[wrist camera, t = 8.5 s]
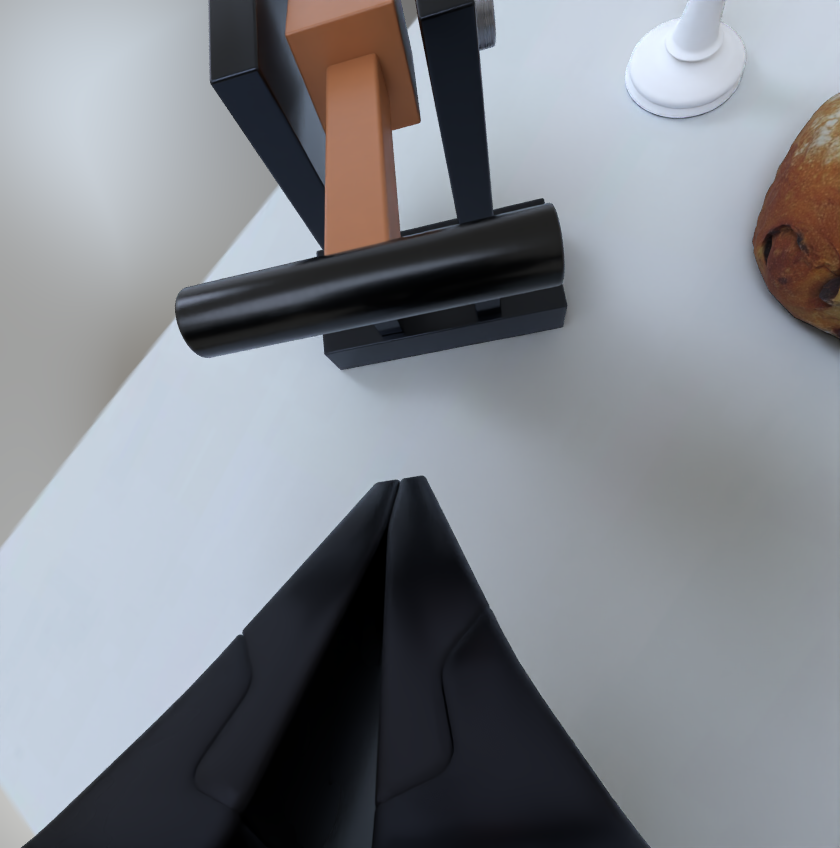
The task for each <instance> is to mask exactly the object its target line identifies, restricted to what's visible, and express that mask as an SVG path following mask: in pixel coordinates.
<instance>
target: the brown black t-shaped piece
mask: <svg viewBox="0 0 840 848" xmlns="http://www.w3.org/2000/svg"><path fill="white" fill-rule="evenodd" d="M285 37H286V39H287V42H288V44H289V47H290V49H291V52H292V54H293V57H294V59H295V61H296V64H297V66H298V69H299V71H300V74H301V76H302V78H303V81H304V83H305V86H306V88H307V91H308V93H309V96H310V98H311V100H312V103H313V105H314V108H315V110H316V113H317V115H318V118H319V120H320V122H321V125H322V127H323V130H324V132H325V135H326V153H325V242H324V255H323V256H319V257H314V258H310V259H306V260H301V261H297V262H293V263H289V264H284V265H280V266H276V267H271V268H267V269H263V270H259V271H254V272H250V273H246V274H241V275H237V276H233V277H228V278H224V279H220V280H216V281H211V282H207V283H203V284H198V285H195V286H190V287H186V288H184V289H182V290H181V291H180V292H179V294H178V296H177V298H176V303H175V314H176V320H177V324H178V327H179V330H180V332H181V334H182V336H183V338H184V340H185V342H186V343H187V345H188V346H189V347H190V348H191V350H192V351H193V352H195V353H196V354H197V355H199V356H201V357H205V358H211V357H216V356H221V355H226V354H231V353H236V352H240V351H245V350H250V349H255V348H260V347H265V346H270V345H274V344H279V343H284V342H289V341H294V340H299V339H303V338H308V337H313V336H318V335H323V334H328V333H333V332H337V331H342V330H347V329H352V328H357V327H362V326H367V325H371V324H376V323H381V322H386V321H391V320H396V319H401V318H405V317H410V316H415V315H420V314H425V313H430V312H434V311H439V310H444V309H449V308H454V307H459V306H464V305H468V304H473V303H478V302H483V301H488V300H493V299H498V298H502V297H507V296H512V295H517V294H522V293H527V292H531V291H536V290H541V289H546V288H551V287H556V286H559V285H561V284H562V283H563V279H564V269H565V264H564V248H563V240H562V233H561V227H560V223H559V218H558V215H557V212H556V209H555V207H554V205H553V204H552V203H546V204H542V205H538V206H533V207H529V208H525V209H520V210H516V211H512V212H507V213H503V214H499V215H495V216H490V217H486V218H482V219H477V220H473V221H469V222H465V223H460V224H456V225H452V226H447V227H443V228H439V229H435V230H430V231H426V232H422V233H417V234H413V235H409V236H404V237H401V235H400V223H399V211H398V199H397V188H396V176H395V164H394V152H393V140H392V130H396V129H400V128H403V127H407V126H411V125H414V124H418V123H420V121H421V119H420V111H419V103H418V95H417V87H416V79H415V72H414V64H413V56H412V51H411V46H410V41H409V37H408V32H407V27H406V22H405V18H404V13H403V8H402V4H401V0H288V4H287V16H286V28H285Z"/></svg>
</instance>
